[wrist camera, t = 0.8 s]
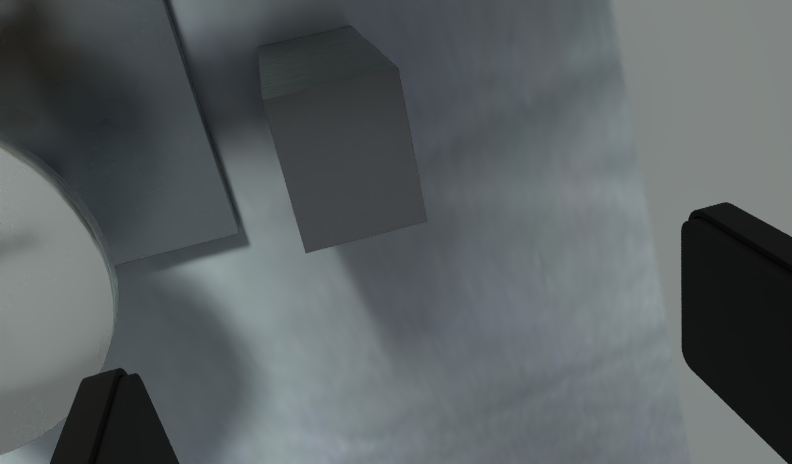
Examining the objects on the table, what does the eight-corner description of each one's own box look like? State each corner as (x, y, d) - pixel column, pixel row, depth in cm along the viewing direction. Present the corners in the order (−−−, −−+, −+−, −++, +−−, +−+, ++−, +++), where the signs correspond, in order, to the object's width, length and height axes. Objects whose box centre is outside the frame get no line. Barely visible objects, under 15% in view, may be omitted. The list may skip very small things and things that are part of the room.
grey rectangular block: (257, 47, 28) (262, 100, 19) (350, 25, 28) (398, 67, 19) (288, 158, 30) (305, 253, 21) (374, 136, 30) (427, 221, 21)
